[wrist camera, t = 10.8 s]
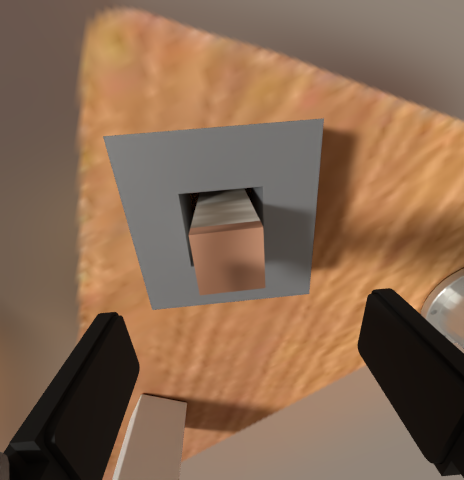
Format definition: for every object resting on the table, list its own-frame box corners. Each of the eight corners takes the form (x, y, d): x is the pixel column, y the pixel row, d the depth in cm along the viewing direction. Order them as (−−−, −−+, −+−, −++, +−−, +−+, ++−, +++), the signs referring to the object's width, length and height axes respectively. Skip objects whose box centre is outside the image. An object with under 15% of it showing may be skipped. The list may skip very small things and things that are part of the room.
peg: (242, 184, 22) (263, 227, 12) (244, 223, 24) (265, 287, 14) (200, 188, 22) (188, 235, 12) (206, 227, 24) (199, 295, 14)
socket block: (294, 121, 20) (323, 118, 15) (289, 260, 26) (309, 293, 21) (133, 135, 20) (103, 136, 14) (165, 272, 26) (152, 309, 20)
